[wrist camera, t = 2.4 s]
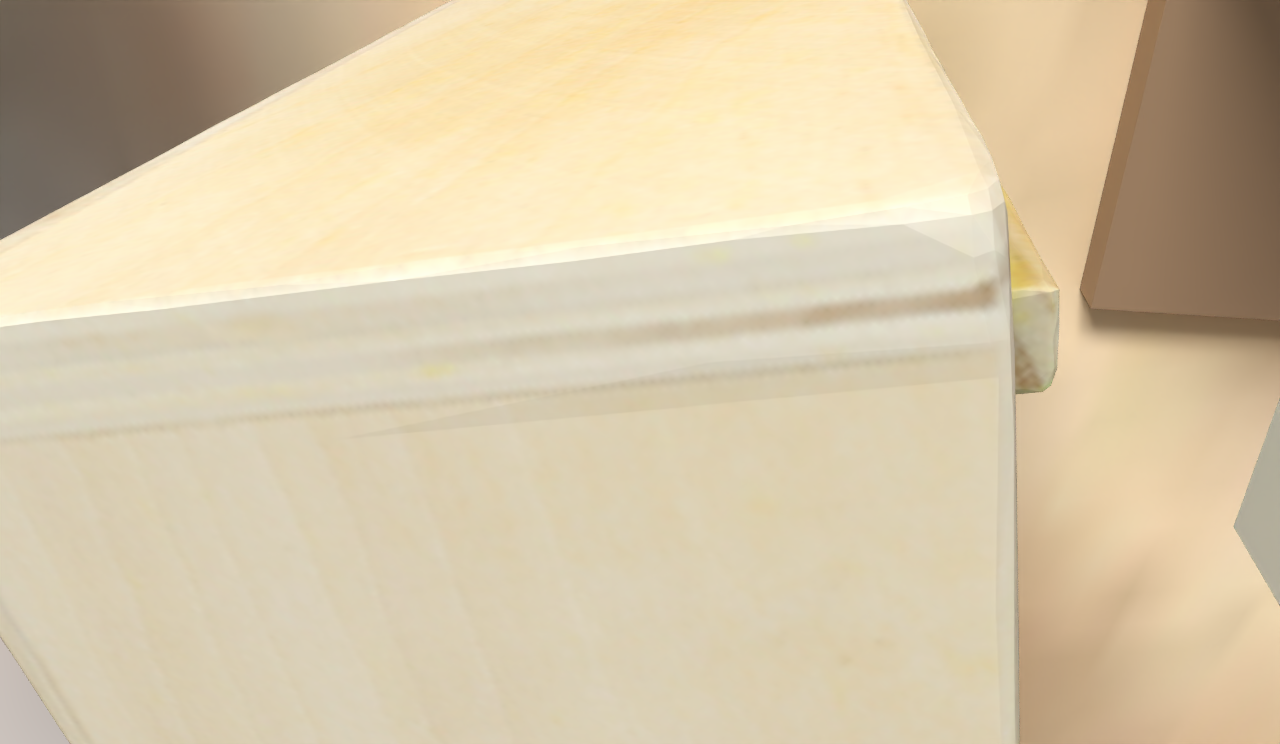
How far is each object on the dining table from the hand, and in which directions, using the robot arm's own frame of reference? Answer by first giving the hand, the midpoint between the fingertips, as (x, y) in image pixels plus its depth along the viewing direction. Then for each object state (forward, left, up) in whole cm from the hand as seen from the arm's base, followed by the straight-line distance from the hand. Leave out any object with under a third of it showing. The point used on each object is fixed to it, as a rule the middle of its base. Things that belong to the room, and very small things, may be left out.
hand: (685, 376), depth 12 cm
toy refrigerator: (0, 0, -15) cm, 15 cm away
